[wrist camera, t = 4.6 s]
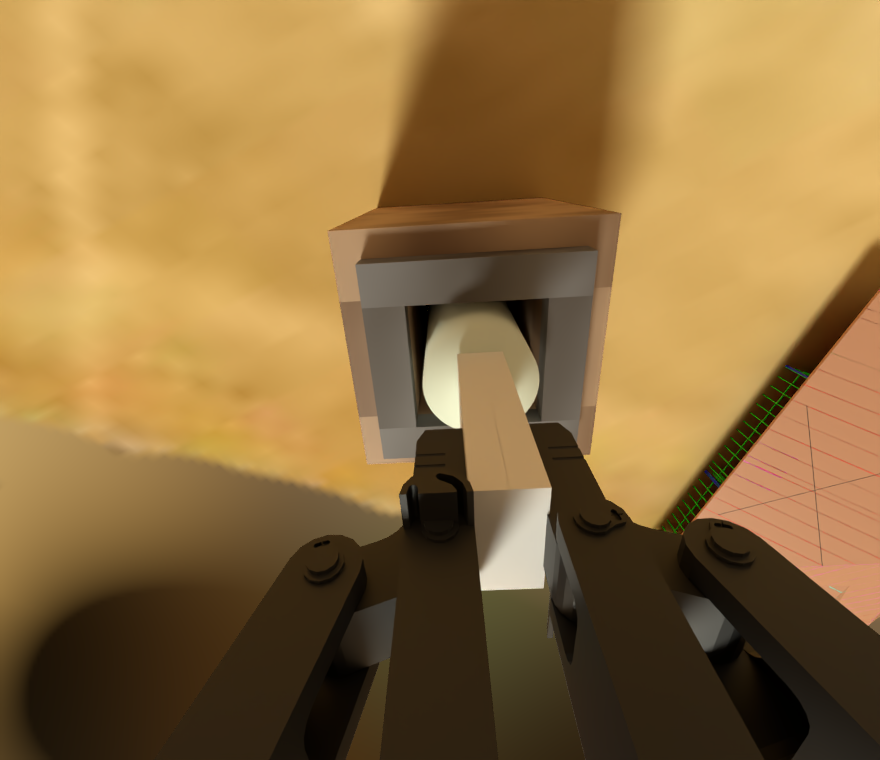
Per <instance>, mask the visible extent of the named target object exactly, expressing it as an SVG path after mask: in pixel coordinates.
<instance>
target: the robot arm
mask: <svg viewBox="0 0 880 760" xmlns="http://www.w3.org/2000/svg"><path fill="white" fill-rule="evenodd" d="M457 369H458V393H459V416H460V428H455V429H434V430H425V431H424V432H423V434H422V435H421V436H420V438H419V439H418V440H417V443H416V453H415V464H414V475H413V476H412V477H411V478H410V479H409V480H408V481H407V482H406V483H405V484H403V486H402V489H401V491H400V494H399V498H400V505H401V513H402V520H403V526H402V527H401V528H400V529H399V530H398V531H397V532H395V533H394V534H393V535H391V536H389V537H387V538H385V539H382V540H380V541H377V542H374V543H371V544H368V545H365V546H362V547H360V546H359V545H358V544H357V543H356V542H355V541H354V540H353V539H351V538H348V537H345V536H343V535H327V536H324V537H320V538H317V539H314V540H312V541H310V542H309V543H307V544H305V545H304V546H302V547H300V549H299V550H298V551H297V552H296V553H295V554H294V555H293V556H292V557H291V558H290V560H289V561H288V563H287V564H286V566H285V567H284V568H283V570H282V572H281V573H280V574H279V576H278V577H277V579H276V580H275V582H274V583H273V585H272V586H271V588H270V589H269V591H268V592H267V594H266V595H265V597H264V598H263V599H262V601H261V602H260V604H259V605H258V607H257V608H256V610H255V611H254V613H253V614H252V616H251V617H250V619H249V620H248V622H247V623H246V625H245V626H244V628H243V629H242V631H241V632H240V633H239V635H238V637H237V638H236V639H235V641H234V642H233V644H232V645H231V647H230V648H229V650H228V651H227V653H226V654H225V656H224V657H223V659H222V660H221V662H220V663H219V665H218V666H217V668H216V669H215V670H214V672H213V673H212V675H211V676H210V678H209V679H208V681H207V682H206V684H205V686H204V687H203V688H202V690H201V691H200V693H199V694H198V696H197V697H196V699H195V700H194V702H193V703H192V704H191V706H190V707H189V709H188V710H187V712H186V713H185V715H184V716H183V718H182V720H181V721H180V722H179V724H178V725H177V727H176V728H175V730H174V731H173V733H172V734H171V736H170V737H169V738H168V740H167V741H166V743H165V744H164V746H163V747H162V749H161V751H160V752H159V753H158V755H157V756H156V758H155V759H154V760H346V757H347V754H348V751H349V749H350V746H351V743H352V740H353V737H354V734H355V731H356V729H357V726H358V723H359V720H360V717H361V714H362V711H363V709H364V706H365V703H366V700H367V697H368V694H369V692H370V689H371V686H372V683H373V680H374V677H375V674H376V671H377V669H378V666H379V662H381V661H383V660H385V659H388V658H390V667H389V675H388V685H387V695H386V704H385V714H384V724H383V734H382V744H381V753H380V760H498V752H497V742H496V732H495V723H494V712H493V703H492V693H491V683H490V673H489V663H488V654H487V645H486V633H485V623H484V614H483V604H482V594H481V590H505V589H533V588H543V587H544V576H545V574H546V578H547V582H548V586H549V589H550V600H549V610H548V622H547V637H548V638H553V631H554V634H555V638H556V642H557V646H558V650H559V654H560V658H561V662H562V666H563V671H564V674H565V679H566V683H567V687H568V691H569V695H570V699H571V703H572V707H573V711H574V715H575V719H576V723H577V727H578V731H579V735H580V739H581V744H582V747H583V752H584V756H585V759H586V760H880V635H879V634H878V633H876V632H875V631H874V630H873V629H871V628H870V627H869V626H868V625H867V624H865V623H864V622H863V621H862V620H860V619H859V618H858V617H857V616H856V615H854V614H853V613H852V612H851V611H850V610H848V609H847V608H846V607H845V606H843V605H842V604H841V603H840V602H839V601H837V600H836V599H835V598H834V597H832V596H831V595H830V594H829V593H828V592H826V591H825V590H824V589H823V588H821V587H820V586H819V585H818V584H817V583H815V582H814V581H813V580H812V579H810V578H809V577H808V576H807V575H806V574H804V573H803V572H802V571H801V570H800V569H798V568H797V567H796V566H795V565H793V564H792V563H791V562H790V561H789V560H787V559H786V558H785V557H784V556H782V555H781V554H780V553H779V552H778V551H776V550H775V549H774V548H773V547H771V546H770V545H769V544H768V543H767V542H765V541H764V540H763V539H762V538H760V537H759V536H757V535H756V534H754V533H753V532H751V531H750V530H748V529H746V528H744V527H742V526H740V525H737V524H735V523H732V522H730V521H726V520H721V519H715V518H702V519H696V520H694V521H692V522H690V523H688V524H687V526H686V528H685V530H684V532H683V535H681V534H676V533H671V532H666V531H661V530H656V529H651V528H648V527H644V526H641V525H638V524H636V523H633V522H632V520H631V519H630V517H629V516H628V515H627V514H626V513H625V511H624V510H623V509H622V508H620V507H619V506H617V505H616V504H614V503H612V502H611V501H608V500H606V499H605V497H604V495H603V493H602V491H601V489H600V487H599V485H598V483H597V481H596V479H595V478H594V476H593V474H592V472H591V470H590V468H589V466H588V464H587V462H586V460H585V459H584V456H583V454H582V452H581V450H580V448H578V444H577V443H576V441H575V439H574V437H573V435H572V433H571V432H570V431H569V430H567V429H566V428H565V427H563V426H562V425H561V424H560V423H558V422H553V423H532V424H529V423H528V420H527V418H526V415H525V412H524V409H523V406H522V404H521V401H520V398H519V395H518V393H517V390H516V387H515V384H514V381H513V379H512V376H511V373H510V370H509V367H508V365H507V362H506V359H505V356H504V354H503V351H500V352H481V353H462V354H457Z"/></svg>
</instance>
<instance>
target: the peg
mask: <svg viewBox="0 0 880 760" xmlns="http://www.w3.org/2000/svg"><path fill="white" fill-rule="evenodd" d="M500 351H503V354H504V356H505V359H506V362H507V365H508V367H509V370H510V373H511V376H512V379H513V381H514V384H515V387H516V390H517V393H518V395H519V398H520V401H521V404H522V406H523V409H524V412H525V413H526V412H527V411H528V409H529V408H530V407H531V405H532V403H533V402H534V400H535V397H536V395H537V392H538V388H539V370H538V366H537V363H536V360H535V358H534V356H533V354H532V352H531V350H530V349H529V347H528V345H527V343H526V341H525V339H524V337H523V335H522V333H521V331H520V329H519V327H518V325H517V323H516V321H515V319H514V317H513V315H512V314H511V312H510V310H509V308H508V306H507V304H506V302H505V301H488V302H470V303H452V304H434V305H430V307H429V318H428V328H427V339H426V349H425V360H424V371H423V392H424V396H425V399H426V402H427V404H428V406H429V408H430V409H431V411H432V412H433V413H434V414H435V415H436V416H437V417H438V418H439V419H440V420H441V421H442V422H444V423H445V424H447V425H449V426H451V427H452V428H460V416H459V393H458V369H457V354H462V353H481V352H500Z"/></svg>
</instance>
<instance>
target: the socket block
mask: <svg viewBox="0 0 880 760" xmlns="http://www.w3.org/2000/svg"><path fill="white" fill-rule="evenodd" d="M620 219H621V213H618V212H613V211H607V210H602V209H597V208H592V207H587V206H582V205H577V204H572V203H567V202H562V201H557V200H552V199H547V198H529V199H513V200H497V201H481V202H465V203H449V204H433V205H417V206H401V207H385V208H376V209H374V210H372V211H370V212H367V213H365V214H363V215H361V216H359V217H357V218H355V219H352V220H350V221H348V222H346V223H344V224H342V225H340V226H337V227H335V228H333V229H331V230H329V231H328V237H329V243H330V248H331V254H332V260H333V266H334V272H335V278H336V284H337V290H338V295H339V301H340V307H341V313H342V319H343V325H344V331H345V337H346V342H347V348H348V354H349V360H350V366H351V372H352V378H353V384H354V389H355V395H356V401H357V407H358V413H359V419H360V425H361V431H362V436H363V442H364V448H365V454H366V460H367V464H385V463H408V462H415V453H416V443H417V440H418V439H419V438H420V436H421V435H422V434H423V432H424V431H425V430H434V429H455V428H452V427H451V426H449V425H447V424H445V423H444V422H442V421H441V420H440V419H439V418H438V417H437V416H436V415H435V414H434V413H433V412H432V411H431V409H430V408H429V406H428V404H427V402H426V399H425V396H424V392H423V371H424V360H425V349H426V339H427V328H428V324H427V318H426V305H434V304H452V303H470V302H488V301H505V302H506V304H507V306H508V308H509V310H510V312H511V314H512V315H513V317H514V319H515V321H516V323H517V325H518V327H519V329H520V331H521V333H522V335H523V337H524V339H525V341H526V343H527V345H528V347H529V349H530V350H531V352H532V354H533V356H534V358H535V360H536V363H537V366H538V370H539V388H538V392H537V395H536V397H535V400H534V402H533V403H532V405H531V407H530V408H529V409H528V411H527V412H526V413H525V415H526V418H527V420H528V423H529V424H532V423H553V422H558V423H560V424H561V425H562V426H563V427H565V428H566V429H567V430H569V431H570V432H571V433H572V435H573V437H574V439H575V441H576V443H577V444H578V448H580V450H581V452H582V454H583V455H589V454H590V450H591V443H592V435H593V427H594V419H595V412H596V404H597V396H598V389H599V381H600V373H601V366H602V358H603V350H604V342H605V335H606V327H607V319H608V312H609V304H610V296H611V289H612V281H613V273H614V265H615V258H616V250H617V242H618V235H619V227H620Z"/></svg>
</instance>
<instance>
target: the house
mask: <svg viewBox="0 0 880 760" xmlns="http://www.w3.org/2000/svg"><path fill="white" fill-rule="evenodd" d="M785 367H786V368H787V369H789V370H791V371H793V372H795V373H797V374H798V376H797V378H796V379H795V380H794V381H793V383H792V384H791V383H789V382H788V381H786V380H784V379H783V378H781V377H779V376H777V377H779V378H781V379H782V380H784V381H786V382H787V383H789V384H790V385H789V387H788V388H787V389H786V390H785V392H784V393H783V392H781V391H779V390H778V389H776V388H775V387H773V386H771V385H770V386H771V387H773V388H774V389H776V390H777V391H779V392H781V393H782V394H783V395H782V396H781V398H780V399H779V400H778V402H777V403H776V402H775V401H773V400H772V399H770V398H769V397H767V396H766V395H764V394H763V395H764V396H765V397H767V398H768V399H770V400H771V401H773V402H774V403H775V404H774V406H773V407H772V408H771V409H770V411H767V410H766V409H764V408H763V407H762V406H760V405H759V404H757V403H756V404H757V405H758V406H760V407H761V408H763V409H764V410H765V411H767V412H768V414H767V415H766V417H765V418H764V419H763V420H760V419H759V418H758V417H756V416H755V415H754V414H752V413H751V412H749V413H751V414H752V415H753V416H755V417H756V418H757V419H758V420H760V421H761V422H760V423H759V425H758V426H757V427H756V428H755V429H754V428H753V427H751V426H750V425H749V424H748V423H746V422H745V421H743V422H744V423H746V424H747V425H748V426H749V427H751V428H752V429H753V430H754V432H753V433H752V434H751V435H750V437H749V438H748V437H746V436H745V435H744V434H743V433H742V432H740V431H739V430H738V429H736V430H738V431H739V432H740V433H741V434H742V435H743V436H745V437H746V438H747V440H746V441H745V442H744V443H743V445H742V446H741V445H739V444H738V443H737V442H736V441H735V440H734V439H733V438H731V437H730V438H731V439H732V440H733V441H734V442H735V443H737V444H738V445H739V446H740V447H741V448H740V449H739V451H738V452H737V453H736V454H734V453H733V452H732V451H731V450H730V449H729V448H728V447H726V446H725V445H724V446H725V447H726V448H727V449H728V450H729V451H730V452H731V453H732V454H733V455H734V456H733V457H732V459H731V460H730V461H729V462H728V461H727V460H726V459H725V458H724V457H723V456H722V455H721V454H720V453H718V454H719V455H720V456H721V457H722V458H723V459H724V460H725V461H726V462H727V463H728V464H727V466H726V467H725V468H724V469H723V470H722V469H721V468H720V467H719V466H718V465H717V464H716V463H715V462H714V461H712V462H713V463H714V464H715V465H716V466H717V467H718V468H719V469H720V470H721V472H720V474H719V475H718V473H717V472H716V471H715V470H714V469H713V468H712V467H711V466H710V465H709V467H710V468H711V469H712V470H713V471H714V472H715V473H716V474H717V475H718V477H717V476H716V475H715V474H714V473H712V474H713V475H714V476H715V477H716V480H715V479H714V477H713V476H712V475H711V474H710V473H709V472H708V471H707V470H705V471H704V472H705V473H706V474H707V476H708V477H709V478H710V479H711V480H712V481H713V482H712V484H711V485H710V486H709V488H707V487H706V485H705V484H704V483H703V482H702V481H701V480H700V479H699V480H700V481H701V483H702V484H703V485H704V486H705V487H706V489H707V491H706V492H705V493H704V495H703V496H702V495H701V494H700V492H699V491H698V490H697V489H696V487H695V486H693V487H694V488H695V489H696V491H697V492H698V493H699V494H700V496H701V498H700V499H699V500H698V501H697V503H696V501H695V500H694V499H693V498H692V496H691V495H690V494H689V493H688V495H689V496H690V497H691V498H692V500H693V501H694V502H695V504H696V505H695V506H694V507H693V509H692V510H691V509H690V508H689V506H688V505H687V504H686V502H685V501H684V500H682V501H683V502H684V503H685V505H686V506H687V507H688V509H689V510H690V511H689V513H688V514H687V515H686V517H685V515H684V514H683V512H682V511H681V510H680V508H679V507H678V506H677V508H678V509H679V510H680V512H681V513H682V515H683V516H684V517H685V519H684V520H683V521H682V522H681V524H680V522H679V521H678V519H677V518H676V517H675V515H674V514H673V513H672V515H673V516H674V517H675V519H676V520H677V522H678V523H679V525H678V527H677V528H676V529H674V528H673V526H672V525H671V523H670V522H669V520H667V521H668V523H669V524H670V526H671V527H672V529H673V530H674V532H673V533H676V534H677V532H676V530H677V529H678V528H679V526H681V528H682V529H683V532H684V528H683V527H682V523H683V522H684V521H685V520H687V522H688V523H690V522H689V521H688V519H687V516H688V515H689V514H690V513H692V514H693V515H694V517H695V518H694V519H693V520H692V521H694V520H696V519H702V518H715V519H721V520H726V521H730V522H732V523H735V524H737V525H740V526H742V527H744V528H746V529H748V530H750V531H751V532H753V533H754V534H756V535H757V536H759V537H760V538H762V539H763V540H764V541H765V542H767V543H768V544H769V545H770V546H771V547H773V548H774V549H775V550H776V551H778V552H779V553H780V554H781V555H782V556H784V557H785V558H786V559H787V560H789V561H790V562H791V563H792V564H793V565H795V566H796V567H797V568H798V569H800V570H801V571H802V572H803V573H804V574H806V575H807V576H808V577H809V578H810V579H812V580H813V581H814V582H815V583H817V584H818V585H819V586H820V587H821V588H823V589H824V590H825V591H826V592H828V593H829V594H830V595H831V596H832V597H834V598H835V599H836V600H837V601H839V602H840V603H841V604H842V605H843V606H845V607H846V608H847V609H848V610H850V611H851V612H852V613H853V614H854V615H856V616H857V617H858V618H859V619H860V620H862V621H863V622H864V623H865V624H867V625H869V624H871V623H872V622H873V621H874V620H876V619H877V618H878V617H879V616H880V290H878V291H877V292H876V294H875V295H874V296H873V297H872V299H871V300H870V301H869V302H868V304H867V305H866V306H865V307H864V309H863V310H862V311H861V312H860V314H859V315H858V316H857V317H856V318H855V320H854V321H853V322H852V323H851V325H850V326H849V327H848V328H847V330H846V331H845V332H844V333H843V335H842V336H841V337H840V338H839V340H838V341H837V342H836V343H835V344H834V346H833V347H832V348H831V349H830V351H829V352H828V353H827V354H826V356H825V357H824V358H823V359H822V361H821V362H820V363H819V364H818V366H817V367H816V368H815V369H814V370H813V372H812V373H811V374H809V373H807V372H806V371H804V372H802V371H800V370H798V369H796V368H795V369H794V368H792V367H790V366H788V365H786V366H785ZM800 376H802V377H804V378H806V380H805V382H804V383H803V384H802V385H801V387H800V388H798V387H796V386H795V385H793V384H794V383H795V382H796V380H797V379H798V378H799V377H800ZM792 385H793V386H794V387H796V388H798V390H797V392H796V393H795V394H794V395H793V396H792V398H791V397H789V396H787V395H786V394H785V393H786V392H787V391H788V389H789V388H790V387H791V386H792ZM784 395H785V396H787V397H789V398H790V400H789V401H788V403H787V404H786V405H785V406H784V407H782V406H781V405H779V404H778V403H779V402H780V400H781V399H782V398H783V397H784ZM776 404H777V405H779V406H780V407H782V408H783V409H782V410H781V411H780V413H779V414H778V415H777V416H774V415H773V414H771V413H770V412H771V411H772V410H773V408H774V407H775V406H776ZM769 414H771V415H772V416H774V417H775V419H774V420H773V421H772V422H771V424H770V425H769V426H768V425H767V424H766V423H764V420H765V419H766V418H767V417H768V415H769ZM761 423H764V424H765V425H766V426H768V427H767V429H766V430H765V431H764V432H763V434H762V435H761V434H760V433H759V432H758V431H756V430H757V428H758V427H759V426H760V425H761ZM755 432H757V433H758V434H759V435H761V436H760V437H759V439H758V440H757V441H756V442H755V443H753V442H752V441H751V440H750V438H751V437H752V436H753V434H754V433H755ZM748 440H749V441H750V442H752V443H753V444H754V445H753V446H752V447H751V448H750V450H749V451H748V452H747V451H746V450H745V449H744V448H743V446H744V445H745V443H746V442H747V441H748ZM741 449H743V450H744V451H745V452H747V453H746V455H745V456H744V457H743V458H742V460H740V459H739V458H738V457H737V454H738V453H739V452H740V451H741ZM734 457H736V458H737V459H738V460H740V462H739V463H738V465H737V466H736V467H735V468H734V467H733V466H732V465H731V464H730V462H731V461H732V460H733V459H734ZM729 465H730V466H731V467H732V468H733V471H732V472H731V473H730V474H729V476H727V475H726V474H725V473H724V471H725V469H726V468H727V467H728V466H729ZM722 472H723V473H724V474H725V475H726V476H727V478H726V479H725V478H724V477H723V476H722V475H721V474H722ZM720 475H721V477H722V478H723V479H724V480H725V481H724V480H723V479H722V478H721V477H720ZM719 477H720V479H721V480H722V481H723V482H722V481H721V480H720V479H719ZM717 479H718V480H719V481H717ZM714 483H715V485H716V486H717V487H718V489H717V491H716V492H715V493H714V494H712V492H711V491H710V490H709V489H710V487H711V486H712V485H713V484H714ZM719 483H721V485H720V484H719ZM708 491H709V492H710V493H711V494H712V497H711V498H710V499H709V500H708V502H707V501H706V500H705V498H704V496H705V495H706V493H707V492H708ZM702 498H703V499H704V500H705V502H706V504H705V505H704V507H703V508H702V509H701V508H700V507H699V505H698V502H699V501H700V500H701V499H702ZM696 506H698V507H699V509H700V512H699V513H698V514H697V515H696V516H695V514H694V513H693V512H692V511H693V510H694V508H695V507H696ZM692 521H691V522H692ZM662 527H663V526H662ZM663 529H664V531H666V530H665V528H664V527H663ZM666 532H667V531H666ZM681 535H683V533H682V534H681Z"/></svg>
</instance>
